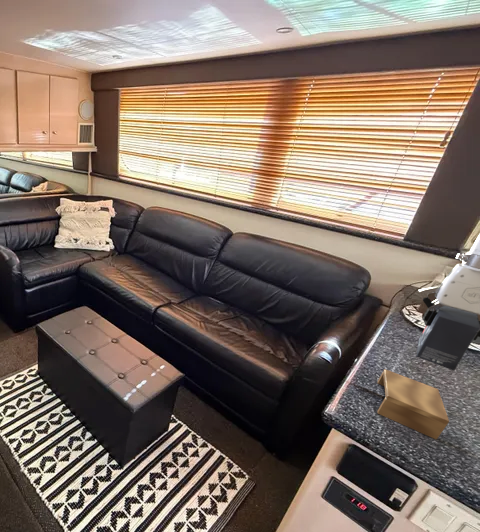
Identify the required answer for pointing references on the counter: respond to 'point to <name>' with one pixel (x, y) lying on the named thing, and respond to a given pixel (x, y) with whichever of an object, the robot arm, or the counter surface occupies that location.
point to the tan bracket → (413, 404)
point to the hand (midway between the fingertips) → (448, 330)
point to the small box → (448, 337)
